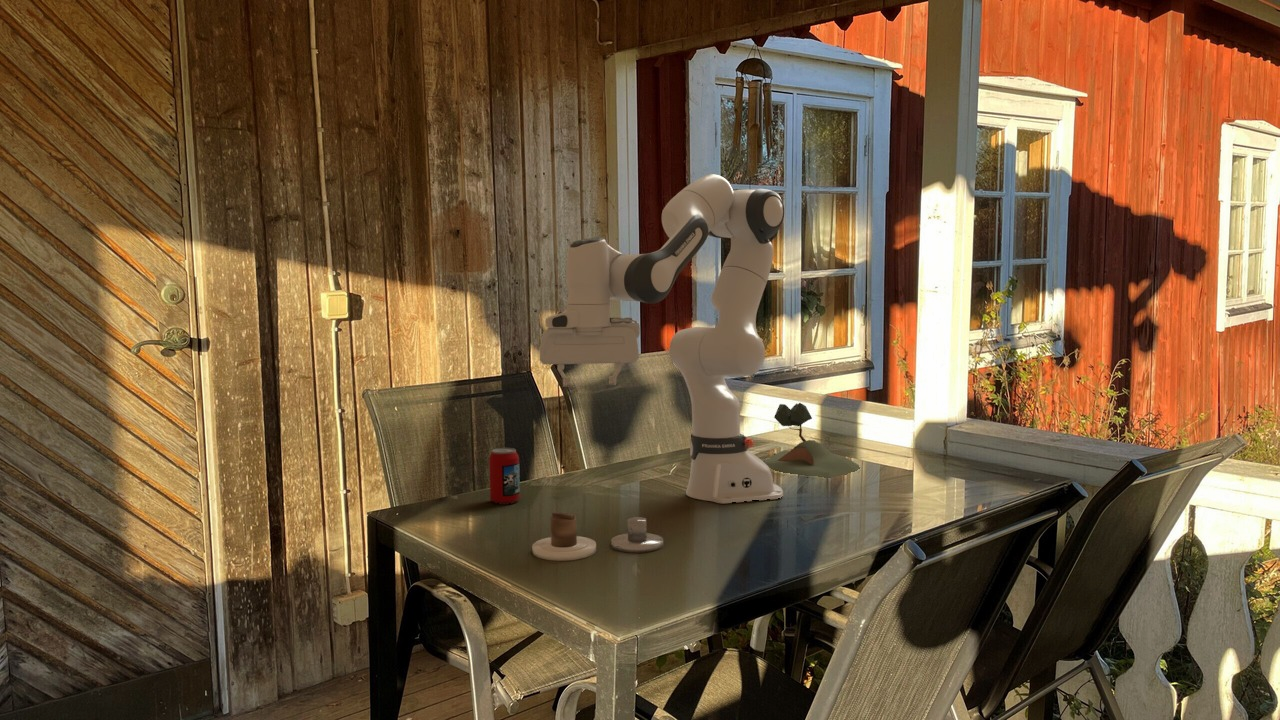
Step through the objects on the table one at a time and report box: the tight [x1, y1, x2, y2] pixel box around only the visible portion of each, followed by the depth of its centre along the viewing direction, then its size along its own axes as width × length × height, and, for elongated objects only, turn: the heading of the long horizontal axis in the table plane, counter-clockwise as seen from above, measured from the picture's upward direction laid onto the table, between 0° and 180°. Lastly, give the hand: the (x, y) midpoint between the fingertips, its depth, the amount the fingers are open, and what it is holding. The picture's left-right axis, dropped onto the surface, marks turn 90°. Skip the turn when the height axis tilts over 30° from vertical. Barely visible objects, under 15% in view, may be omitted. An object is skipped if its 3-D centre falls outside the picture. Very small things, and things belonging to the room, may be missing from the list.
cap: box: [550, 511, 578, 548], centre depth 179 cm, size 5×5×6 cm
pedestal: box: [610, 516, 664, 554], centre depth 183 cm, size 10×10×5 cm
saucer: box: [532, 535, 597, 562], centre depth 180 cm, size 12×12×1 cm
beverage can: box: [488, 447, 521, 505], centre depth 218 cm, size 7×7×12 cm
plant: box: [764, 402, 861, 478], centre depth 254 cm, size 29×35×18 cm
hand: (589, 385), depth 195 cm, fingers open, 8 cm apart
